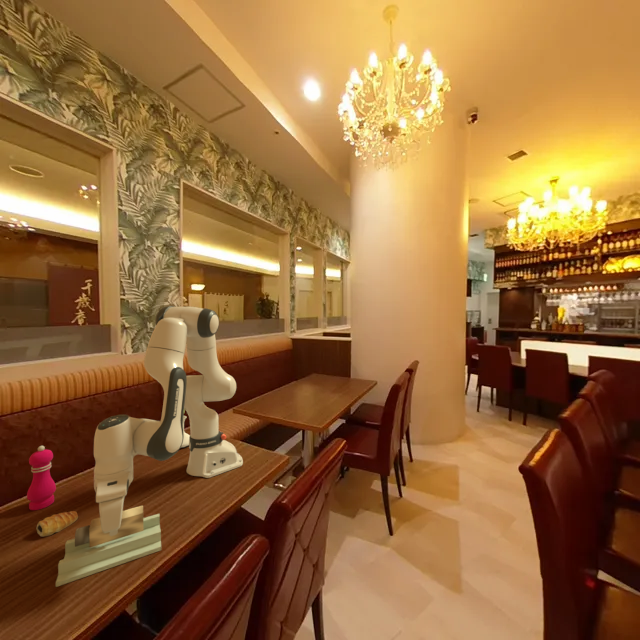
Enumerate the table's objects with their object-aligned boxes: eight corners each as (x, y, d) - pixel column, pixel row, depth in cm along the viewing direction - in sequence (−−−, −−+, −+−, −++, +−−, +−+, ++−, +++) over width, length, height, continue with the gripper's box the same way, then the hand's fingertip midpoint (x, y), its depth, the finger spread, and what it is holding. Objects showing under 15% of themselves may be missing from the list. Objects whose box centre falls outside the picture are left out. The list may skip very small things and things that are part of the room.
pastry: (72, 514, 97) (72, 502, 97) (82, 521, 94) (82, 509, 94) (34, 532, 89) (33, 519, 89) (42, 541, 86) (42, 527, 85)
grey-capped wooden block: (143, 522, 87) (143, 505, 87) (143, 530, 84) (143, 512, 84) (77, 542, 80) (77, 523, 79) (74, 552, 76) (74, 532, 76)
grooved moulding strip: (159, 520, 94) (159, 508, 94) (161, 550, 82) (161, 537, 82) (68, 547, 83) (68, 534, 83) (55, 587, 71) (55, 572, 71)
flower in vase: (185, 438, 156) (185, 390, 156) (198, 443, 150) (198, 394, 149) (160, 447, 146) (160, 396, 145) (173, 453, 139) (172, 400, 139)
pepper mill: (39, 498, 105) (38, 441, 105) (61, 497, 106) (60, 441, 105) (20, 512, 98) (19, 451, 97) (44, 510, 98) (43, 450, 98)
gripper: (104, 464, 89) (104, 510, 89) (94, 500, 72) (95, 557, 72) (129, 459, 92) (129, 503, 93) (126, 492, 75) (126, 547, 75)
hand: (114, 527), depth 82 cm, fingers closed on grey-capped wooden block, 4 cm apart
